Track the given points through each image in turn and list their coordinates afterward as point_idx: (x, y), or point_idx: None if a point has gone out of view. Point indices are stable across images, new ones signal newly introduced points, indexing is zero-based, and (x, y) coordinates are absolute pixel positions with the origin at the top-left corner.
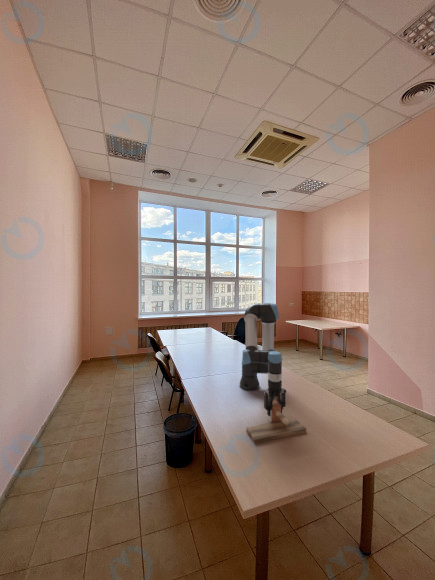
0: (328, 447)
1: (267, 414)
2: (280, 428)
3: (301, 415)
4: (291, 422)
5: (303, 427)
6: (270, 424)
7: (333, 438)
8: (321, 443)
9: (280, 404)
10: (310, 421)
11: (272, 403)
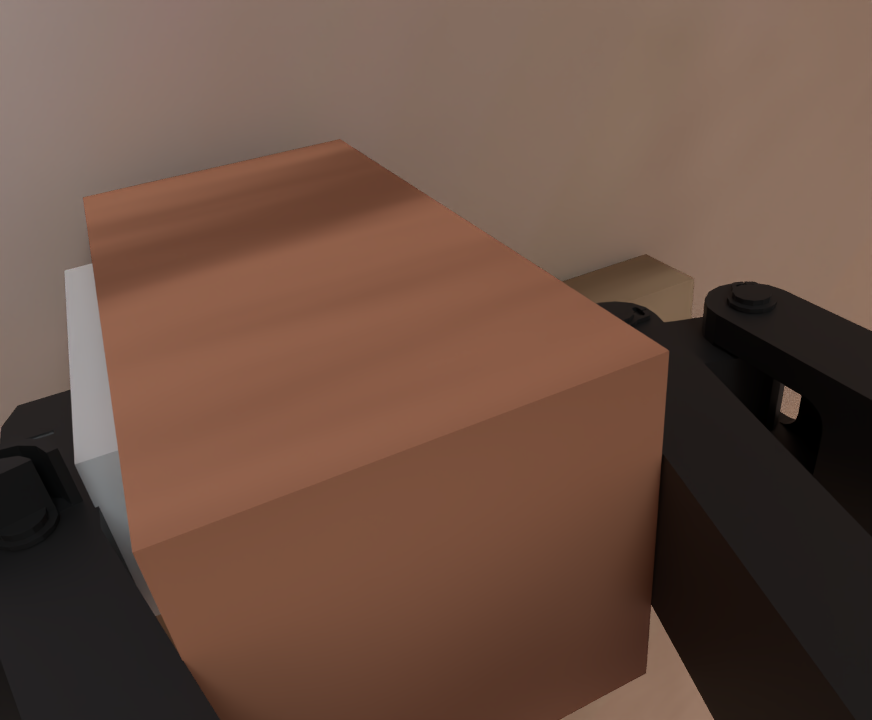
0: (673, 682)
1: (12, 419)
2: None
3: (860, 48)
4: None
5: None
6: None
7: None
8: (655, 649)
9: (637, 658)
10: (845, 248)
11: (330, 679)
